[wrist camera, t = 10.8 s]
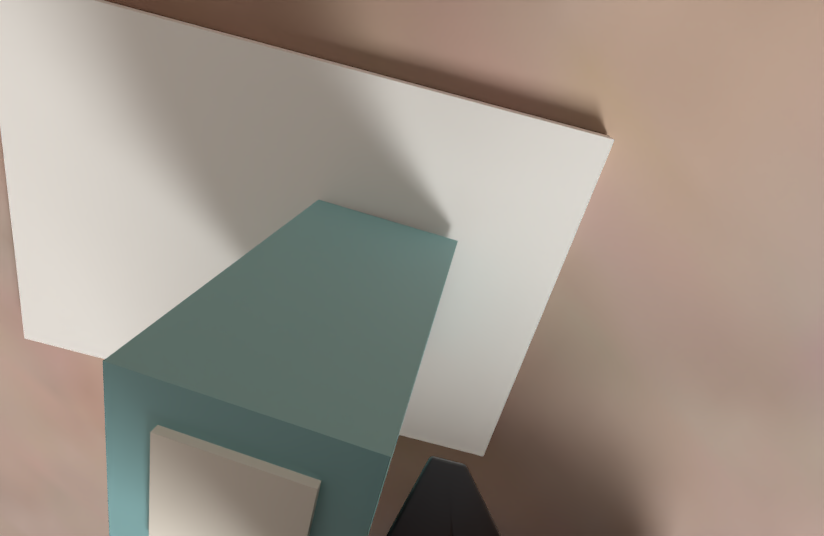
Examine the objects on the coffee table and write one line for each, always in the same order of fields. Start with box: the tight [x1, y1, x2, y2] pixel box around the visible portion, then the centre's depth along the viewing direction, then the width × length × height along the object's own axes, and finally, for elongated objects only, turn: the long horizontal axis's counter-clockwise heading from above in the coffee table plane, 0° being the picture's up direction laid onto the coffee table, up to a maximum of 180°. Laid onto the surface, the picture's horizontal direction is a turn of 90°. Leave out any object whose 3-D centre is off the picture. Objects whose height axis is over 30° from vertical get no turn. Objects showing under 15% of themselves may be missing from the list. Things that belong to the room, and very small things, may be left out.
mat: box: [0, 0, 614, 456], centre depth 15 cm, size 16×11×1 cm
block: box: [103, 200, 458, 536], centre depth 11 cm, size 4×4×8 cm
